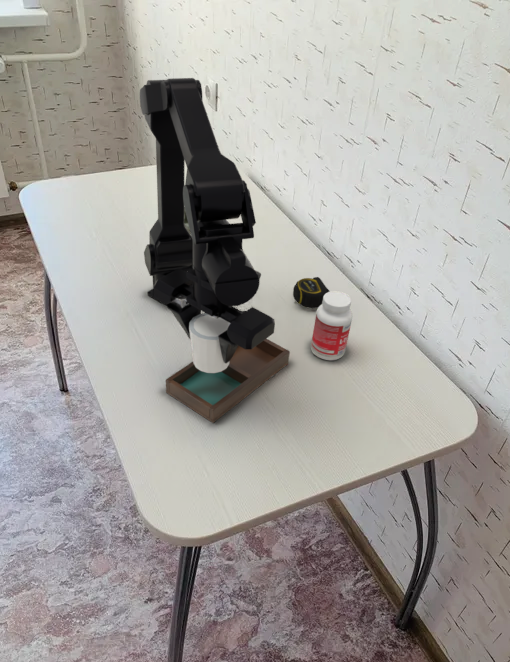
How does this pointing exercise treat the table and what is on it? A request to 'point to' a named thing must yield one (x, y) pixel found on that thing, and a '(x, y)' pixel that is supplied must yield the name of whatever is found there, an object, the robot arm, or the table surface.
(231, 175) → the robot arm
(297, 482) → the table surface
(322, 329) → the pill bottle
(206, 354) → the white cup
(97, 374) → the table surface
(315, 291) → the tape measure
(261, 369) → the holder
